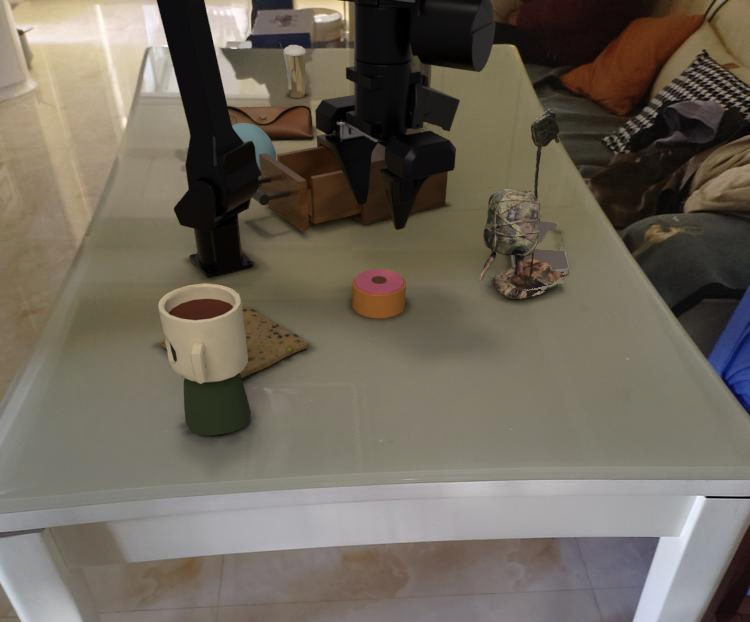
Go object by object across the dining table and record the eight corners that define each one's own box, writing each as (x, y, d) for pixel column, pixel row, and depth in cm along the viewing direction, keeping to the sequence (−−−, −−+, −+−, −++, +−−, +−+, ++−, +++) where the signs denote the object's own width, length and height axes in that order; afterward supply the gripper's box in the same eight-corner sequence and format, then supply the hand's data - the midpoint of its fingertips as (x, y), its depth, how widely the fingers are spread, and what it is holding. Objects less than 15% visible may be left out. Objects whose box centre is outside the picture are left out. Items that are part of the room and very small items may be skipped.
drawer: (270, 238, 103) (266, 188, 98) (233, 207, 110) (228, 159, 106) (383, 212, 110) (384, 164, 105) (341, 185, 117) (340, 139, 113)
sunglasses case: (214, 139, 133) (210, 98, 132) (217, 149, 140) (214, 110, 139) (315, 137, 135) (312, 97, 134) (314, 147, 142) (311, 109, 140)
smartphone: (513, 267, 97) (505, 219, 108) (512, 274, 98) (505, 225, 109) (570, 270, 97) (557, 221, 108) (569, 276, 98) (556, 227, 108)
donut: (414, 310, 91) (416, 284, 88) (369, 323, 88) (370, 297, 86) (386, 288, 94) (387, 262, 92) (342, 300, 92) (342, 274, 90)
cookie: (158, 345, 84) (156, 337, 83) (245, 308, 90) (244, 301, 89) (222, 389, 77) (221, 382, 77) (310, 347, 84) (310, 339, 83)
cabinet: (363, 225, 109) (363, 163, 103) (318, 194, 117) (316, 135, 111) (445, 205, 114) (450, 146, 108) (396, 177, 123) (398, 120, 117)
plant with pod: (469, 274, 98) (476, 109, 84) (554, 266, 98) (575, 101, 84) (482, 306, 92) (493, 134, 78) (572, 297, 93) (599, 124, 79)
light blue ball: (197, 119, 117) (273, 115, 116) (209, 177, 123) (281, 174, 122) (187, 134, 112) (266, 130, 111) (200, 194, 118) (275, 191, 117)
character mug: (190, 391, 77) (168, 273, 69) (259, 390, 78) (246, 272, 69) (174, 458, 69) (147, 334, 61) (251, 457, 70) (235, 333, 61)
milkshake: (279, 94, 156) (275, 39, 150) (303, 91, 158) (300, 37, 151) (286, 100, 153) (283, 44, 147) (311, 97, 155) (308, 42, 148)
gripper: (508, 69, 71) (488, 231, 81) (400, 30, 82) (395, 176, 93) (410, 85, 66) (403, 253, 77) (310, 41, 78) (316, 193, 88)
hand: (380, 215), depth 84 cm, fingers open, 8 cm apart
